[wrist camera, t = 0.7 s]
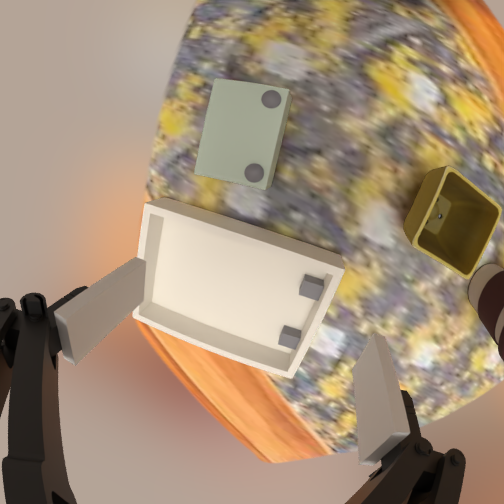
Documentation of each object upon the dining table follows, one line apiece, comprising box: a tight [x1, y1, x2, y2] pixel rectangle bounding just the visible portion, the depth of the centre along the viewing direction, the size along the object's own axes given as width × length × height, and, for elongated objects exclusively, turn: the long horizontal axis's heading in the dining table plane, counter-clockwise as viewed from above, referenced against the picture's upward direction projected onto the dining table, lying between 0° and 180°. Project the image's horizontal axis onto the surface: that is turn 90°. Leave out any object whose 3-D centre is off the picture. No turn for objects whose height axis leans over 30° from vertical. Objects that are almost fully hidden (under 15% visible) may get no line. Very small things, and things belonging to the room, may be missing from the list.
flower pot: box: [403, 166, 502, 279], centre depth 25 cm, size 9×9×9 cm
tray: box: [133, 197, 345, 379], centre depth 35 cm, size 17×24×5 cm
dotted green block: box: [194, 78, 292, 190], centre depth 29 cm, size 11×8×5 cm
